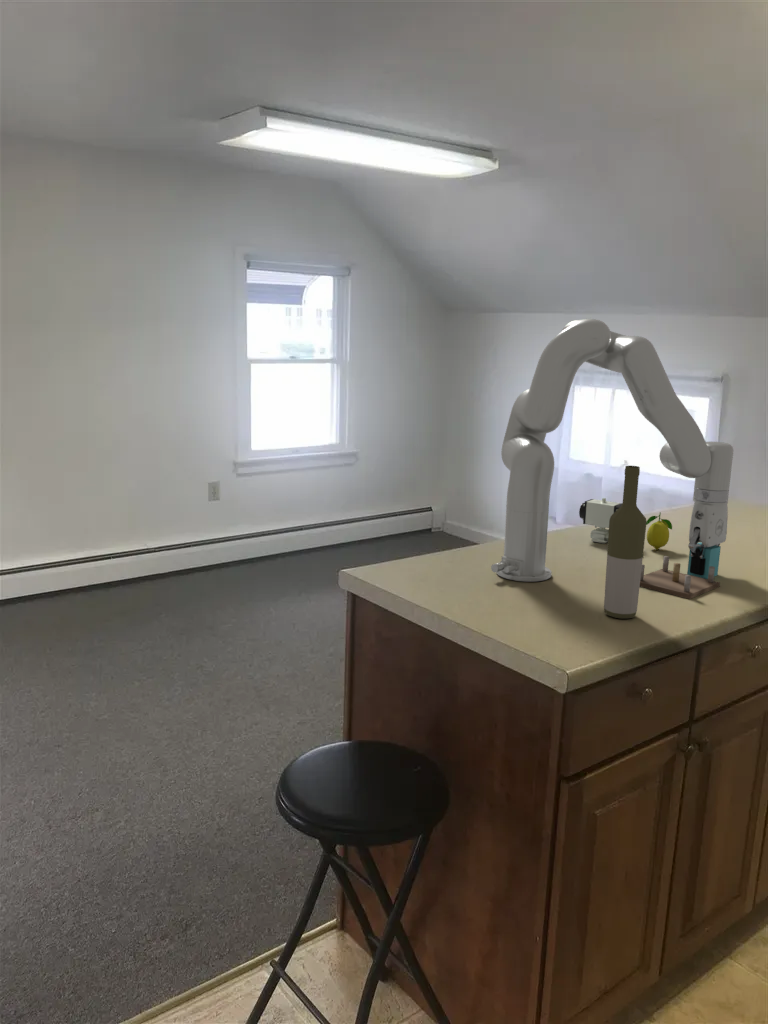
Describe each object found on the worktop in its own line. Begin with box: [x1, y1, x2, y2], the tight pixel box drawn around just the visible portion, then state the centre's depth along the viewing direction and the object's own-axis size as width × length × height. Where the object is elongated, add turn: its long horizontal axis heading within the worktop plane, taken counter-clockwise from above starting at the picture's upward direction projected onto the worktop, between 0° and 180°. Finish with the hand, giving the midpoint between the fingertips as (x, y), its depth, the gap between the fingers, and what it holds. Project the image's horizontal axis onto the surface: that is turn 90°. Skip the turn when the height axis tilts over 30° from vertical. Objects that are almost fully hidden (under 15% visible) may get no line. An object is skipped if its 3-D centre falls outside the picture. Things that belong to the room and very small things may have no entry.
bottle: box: [603, 465, 647, 620], centre depth 164 cm, size 7×7×30 cm
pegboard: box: [640, 555, 721, 600], centre depth 188 cm, size 14×14×5 cm
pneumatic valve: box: [578, 497, 623, 545], centre depth 225 cm, size 6×12×12 cm, turn 53°
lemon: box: [646, 512, 673, 550], centre depth 218 cm, size 7×6×10 cm
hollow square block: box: [686, 542, 721, 579], centre depth 196 cm, size 5×5×7 cm
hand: (702, 571), depth 197 cm, fingers closed on hollow square block, 5 cm apart
